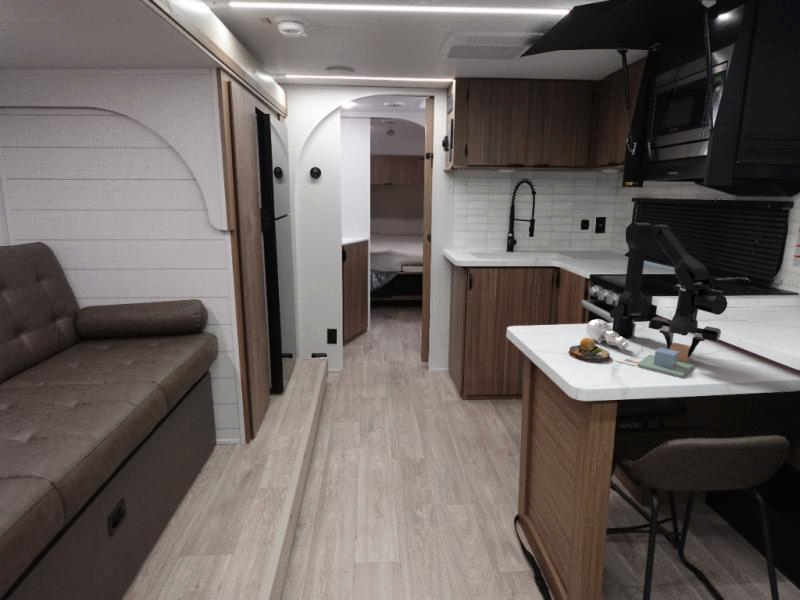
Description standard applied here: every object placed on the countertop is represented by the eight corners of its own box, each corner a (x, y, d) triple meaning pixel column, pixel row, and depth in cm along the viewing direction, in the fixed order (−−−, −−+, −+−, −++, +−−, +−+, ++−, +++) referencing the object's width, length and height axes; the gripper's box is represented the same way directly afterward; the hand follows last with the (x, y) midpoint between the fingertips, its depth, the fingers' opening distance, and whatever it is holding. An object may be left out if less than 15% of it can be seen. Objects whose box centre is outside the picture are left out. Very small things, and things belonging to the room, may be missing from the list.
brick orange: (668, 358, 154) (670, 345, 153) (671, 354, 157) (673, 342, 156) (686, 362, 151) (688, 349, 150) (689, 358, 154) (691, 345, 153)
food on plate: (617, 362, 149) (620, 338, 148) (582, 364, 147) (585, 340, 145) (593, 349, 161) (596, 327, 159) (561, 351, 158) (563, 328, 156)
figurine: (624, 328, 156) (592, 308, 168) (606, 344, 156) (576, 323, 169) (636, 347, 161) (604, 326, 174) (619, 362, 162) (588, 340, 174)
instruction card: (616, 361, 149) (616, 360, 149) (622, 356, 154) (622, 356, 154) (644, 368, 144) (644, 367, 144) (650, 363, 148) (650, 362, 148)
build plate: (637, 366, 145) (637, 364, 145) (649, 356, 154) (649, 354, 154) (682, 378, 138) (682, 375, 137) (692, 367, 146) (692, 364, 146)
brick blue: (658, 360, 149) (660, 347, 148) (676, 364, 146) (678, 351, 145) (653, 364, 146) (655, 351, 145) (672, 368, 142) (674, 355, 141)
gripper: (646, 304, 150) (639, 353, 154) (718, 317, 138) (708, 369, 142) (657, 299, 158) (650, 345, 162) (725, 310, 146) (715, 360, 150)
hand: (679, 354), depth 154 cm, fingers closed on brick orange, 5 cm apart
